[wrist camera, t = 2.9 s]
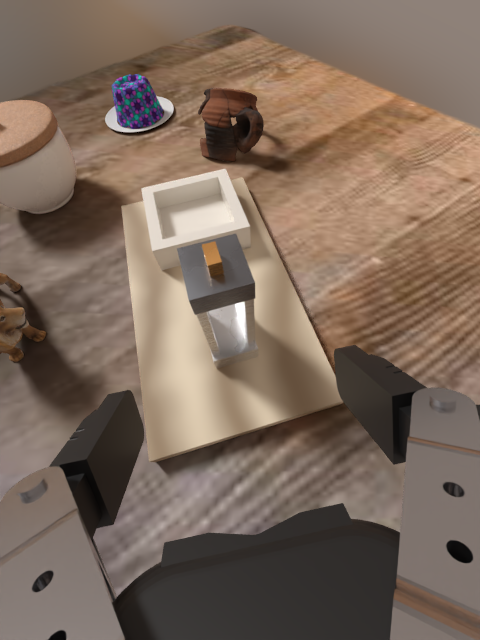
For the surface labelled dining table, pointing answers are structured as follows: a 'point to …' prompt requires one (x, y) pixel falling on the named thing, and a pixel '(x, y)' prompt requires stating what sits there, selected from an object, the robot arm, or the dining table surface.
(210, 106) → the pottery mug
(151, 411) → the board
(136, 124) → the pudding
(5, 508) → the robot arm
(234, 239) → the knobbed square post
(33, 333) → the lion figurine
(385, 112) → the dining table surface
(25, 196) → the lidded bowl
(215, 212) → the box
